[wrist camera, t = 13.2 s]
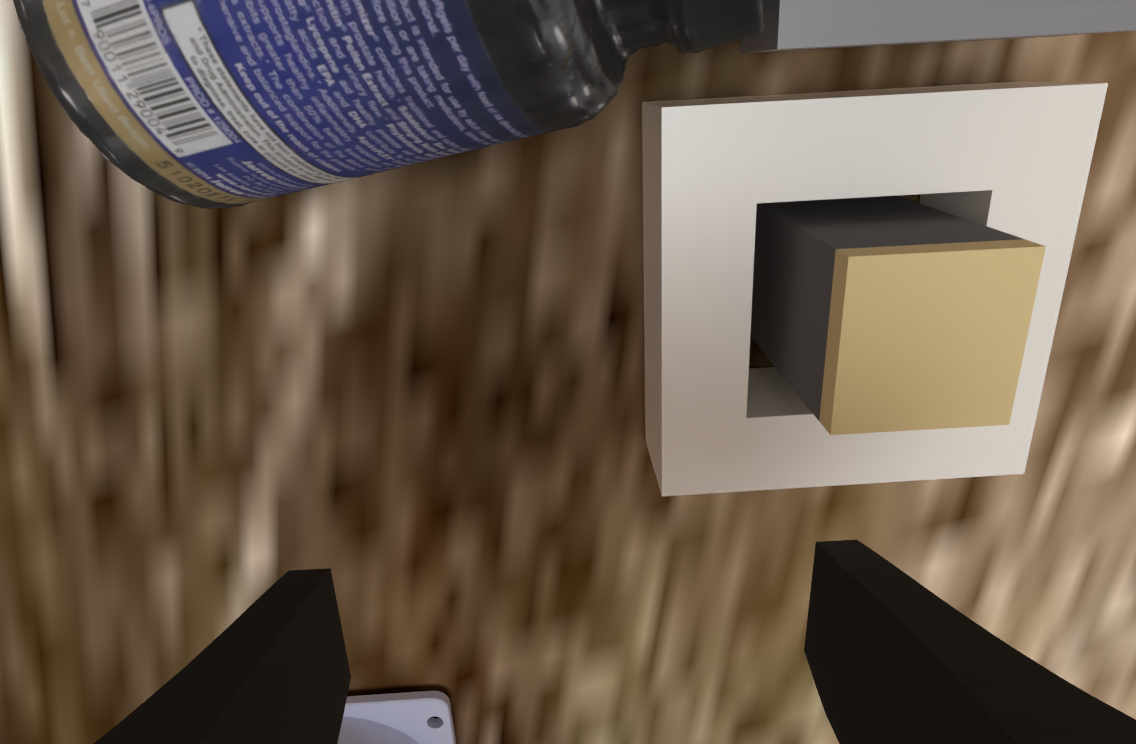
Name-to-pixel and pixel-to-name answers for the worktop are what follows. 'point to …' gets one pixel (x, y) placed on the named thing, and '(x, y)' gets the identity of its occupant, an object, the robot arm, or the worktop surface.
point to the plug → (892, 312)
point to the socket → (818, 172)
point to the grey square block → (929, 21)
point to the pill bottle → (339, 80)
